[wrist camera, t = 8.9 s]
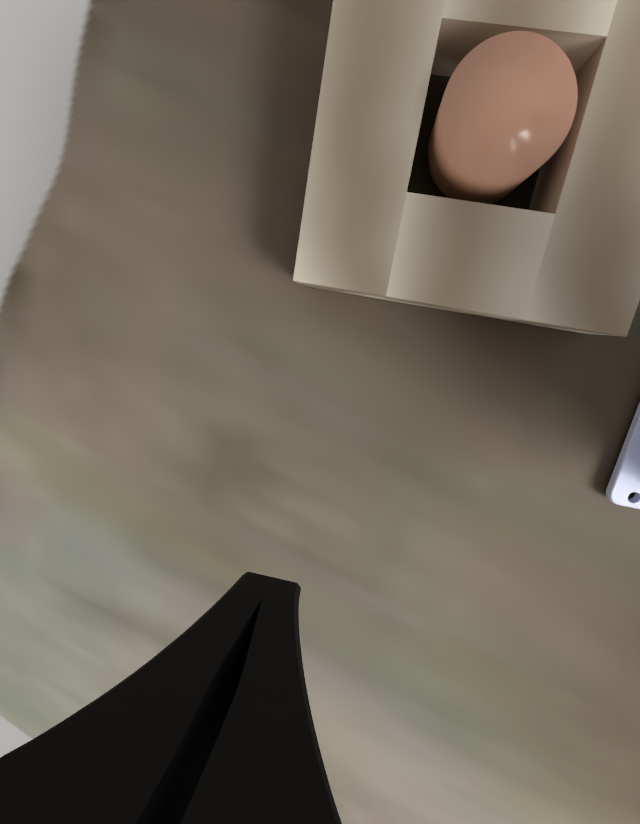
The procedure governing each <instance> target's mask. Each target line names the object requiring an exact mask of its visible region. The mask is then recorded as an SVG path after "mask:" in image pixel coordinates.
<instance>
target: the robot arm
mask: <svg viewBox="0 0 640 824" xmlns="http://www.w3.org/2000/svg"><path fill="white" fill-rule="evenodd" d="M632 492H635V495H634V497H633V498H631V499H628V496H629V494H630V493H632ZM606 496H607V498H608V499H609V500H610V501H611V502H613V503H614V504H617V505H621V506H626V507H631V508H636V509H640V402H639V405H638V407H637V410H636V413H635V415H634V418H633V421H632V423H631V426H630V429H629V431H628V434H627V436H626V439H625V442H624V444H623V447H622V450H621V452H620V455H619V457H618V460H617V463H616V465H615V468H614V471H613V473H612V476H611V478H610V481H609V484H608V486H607V489H606ZM300 591H301V588H300V586H299V585H298V583H295V582H291V581H286V580H282V579H277V578H273V577H269V576H264V575H260V574H256V573H251V572H247V573H245V574H244V575H242V576H241V578H240V579H239V580H238V581H237V582H236V583H235V584H234V585H233V586H232V587H231V588H230V589H229V590H228V592H227V593H226V594H225V595H224V596H223V597H222V598H221V599H220V600H219V601H217V602H216V603H215V604H214V605H213V606H212V607H211V608H210V609H209V610H208V611H207V612H206V613H205V614H204V615H203V616H202V617H200V618H199V619H198V620H197V621H196V622H195V623H194V624H193V625H192V626H191V627H190V628H188V629H187V630H186V631H185V632H184V633H183V634H182V635H180V636H179V637H178V638H177V639H176V640H174V641H173V642H172V643H171V644H169V645H168V646H167V647H166V648H165V649H163V650H162V651H161V652H160V653H159V654H157V655H156V656H155V657H154V658H152V659H151V660H150V661H149V662H147V663H146V664H145V665H143V666H142V667H141V668H139V669H138V670H137V671H136V672H134V673H133V674H131V675H130V676H129V677H127V678H126V679H125V680H123V681H122V682H120V683H119V684H118V685H116V686H115V687H113V688H112V689H111V690H109V691H108V692H106V693H105V694H103V695H102V696H100V697H99V698H98V699H96V700H94V701H93V702H91V703H90V704H88V705H87V706H85V707H84V708H82V709H81V710H79V711H78V712H76V713H74V714H73V715H71V716H70V717H68V718H67V719H65V720H64V721H62V722H61V723H59V724H57V725H56V726H54V727H52V728H51V729H49V730H48V731H46V732H44V733H43V734H41V735H39V736H38V737H36V738H34V739H33V740H31V741H30V742H27V743H26V744H24V745H22V746H20V747H18V748H17V749H15V750H13V751H11V752H10V753H8V754H6V755H4V756H3V757H1V758H0V824H342V823H341V820H340V817H339V814H338V811H337V808H336V805H335V802H334V799H333V796H332V793H331V789H330V786H329V782H328V778H327V775H326V771H325V768H324V764H323V760H322V757H321V753H320V749H319V745H318V741H317V737H316V733H315V729H314V724H313V720H312V715H311V710H310V705H309V700H308V695H307V689H306V684H305V678H304V671H303V664H302V655H301V647H300V637H299V619H298V606H299V596H300Z"/></svg>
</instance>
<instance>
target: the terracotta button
mask: <svg viewBox="0 0 640 824" xmlns="http://www.w3.org/2000/svg"><path fill="white" fill-rule="evenodd" d="M577 99H578V87H577V81H576V76H575V72H574V69H573V67H572V64H571V62H570V60H569V58H568V57H567V55H566V54H565V52H564V51H563V50H562V49H561V48H560V47H559V46H558V45H557V44H556V43H555V42H553V41H552V40H551V39H549V38H547V37H545V36H543V35H541V34H538V33H535V32H529V31H510V32H505V33H501V34H498V35H496V36H493V37H491V38H489V39H487V40H485V41H484V42H482V43H480V44H479V45H478V46H476V47H475V48H474V49H472V50H471V51H470V52H469V53H468V54H467V55H466V56H465V57H464V58H463V60H462V61H461V62H460V63H459V65H458V66H457V68H456V69H455V71H454V72H453V74H452V76H451V78H450V80H449V82H448V84H447V87H446V89H445V92H444V95H443V98H442V101H441V104H440V107H439V110H438V113H437V116H436V119H435V122H434V125H433V128H432V131H431V135H430V138H429V143H428V152H427V158H428V166H429V170H430V173H431V176H432V179H433V180H434V182H435V184H436V186H437V187H438V188H439V190H440V191H441V192H442V193H443V194H444V195H446V196H447V197H448V198H451V199H458V200H465V201H472V202H479V203H485V204H490V203H493V202H496V201H498V200H500V199H502V198H504V197H505V196H507V195H508V194H510V193H511V192H512V191H513V190H514V189H516V188H517V187H518V186H519V185H520V184H521V183H522V182H523V181H525V180H526V179H527V178H528V177H529V176H530V175H531V174H533V173H534V172H535V171H536V170H537V169H538V168H539V167H541V166H542V165H543V164H544V163H545V162H546V161H547V160H548V159H549V158H550V157H551V156H552V155H553V154H554V153H555V152H556V151H557V150H558V148H559V147H560V146H561V144H562V143H563V141H564V140H565V138H566V136H567V134H568V132H569V130H570V128H571V126H572V123H573V120H574V117H575V112H576V108H577Z"/></svg>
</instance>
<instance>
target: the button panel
mask: <svg viewBox="0 0 640 824" xmlns="http://www.w3.org/2000/svg"><path fill="white" fill-rule="evenodd" d="M510 31H529V32H535V33H538V34H541V35H543V36H545V37H547V38H549V39H551V40H552V41H553V42H555V43H556V44H557V45H558V46H559V47H560V48H561V49H562V50H563V51H564V52H565V54H566V55H567V57H568V58H569V60H570V62H571V64H572V67H573V69H574V72H575V76H576V81H577V87H578V99H577V108H576V112H575V117H574V120H573V123H572V126H571V128H570V130H569V132H568V134H567V136H566V138H565V140H564V141H563V143H562V144H561V146H560V147H559V148H558V150H557V151H556V152H555V153H554V154H553V155H552V156H551V157H550V158H549V159H548V160H547V161H546V162H545V163H544V164H543V165H542V166H541V167H540V170H539V173H538V177H537V181H536V184H535V188H534V192H533V195H532V199H531V203H530V206H529V210H526V209H519V208H512V207H506V206H499V205H492V204H485V203H479V202H472V201H465V200H458V199H451V198H445V197H438V196H431V195H424V194H418V193H411V192H407V189H408V184H409V179H410V174H411V169H412V164H413V159H414V154H415V149H416V144H417V139H418V134H419V129H420V124H421V119H422V114H423V109H424V105H425V100H426V95H427V90H428V85H429V80H430V75H439V76H447V77H451V76H452V74H453V72H454V71H455V69H456V68H457V66H458V65H459V63H460V62H461V61H462V60H463V58H464V57H465V56H466V55H467V54H468V53H469V52H470V51H471V50H472V49H474V48H475V47H476V46H478V45H479V44H480V43H482V42H484V41H485V40H487V39H489V38H491V37H493V36H496V35H498V34H501V33H505V32H510ZM293 281H295V282H297V283H299V284H301V285H304V286H306V287H312V288H318V289H324V290H330V291H335V292H341V293H347V294H353V295H359V296H365V297H371V298H377V299H383V300H388V301H394V302H400V303H406V304H412V305H418V306H424V307H430V308H436V309H442V310H447V311H453V312H459V313H465V314H471V315H477V316H483V317H489V318H495V319H500V320H506V321H512V322H518V323H524V324H530V325H536V326H542V327H548V328H554V329H559V330H565V331H571V332H577V333H584V334H597V335H610V336H623V337H627V334H628V332H629V329H630V326H631V323H632V320H633V318H634V315H635V312H636V309H637V306H638V304H639V301H640V0H333V5H332V12H331V19H330V26H329V33H328V40H327V47H326V54H325V61H324V68H323V75H322V82H321V88H320V95H319V102H318V109H317V116H316V123H315V130H314V137H313V144H312V151H311V158H310V165H309V172H308V179H307V186H306V193H305V200H304V207H303V214H302V221H301V228H300V235H299V242H298V249H297V256H296V263H295V270H294V277H293Z"/></svg>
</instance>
